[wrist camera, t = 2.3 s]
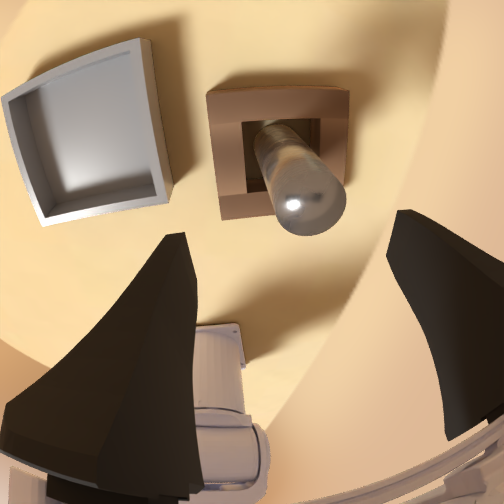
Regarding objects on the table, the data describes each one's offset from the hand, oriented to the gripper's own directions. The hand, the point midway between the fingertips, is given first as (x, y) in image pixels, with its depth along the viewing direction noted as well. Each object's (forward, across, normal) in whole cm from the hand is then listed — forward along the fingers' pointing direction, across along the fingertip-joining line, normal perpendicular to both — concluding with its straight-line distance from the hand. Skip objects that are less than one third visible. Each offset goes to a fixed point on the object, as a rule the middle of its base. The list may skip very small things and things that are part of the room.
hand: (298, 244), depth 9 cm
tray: (+10, +11, -3) cm, 15 cm away
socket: (+10, -1, 0) cm, 10 cm away
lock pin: (+10, -1, 0) cm, 11 cm away
